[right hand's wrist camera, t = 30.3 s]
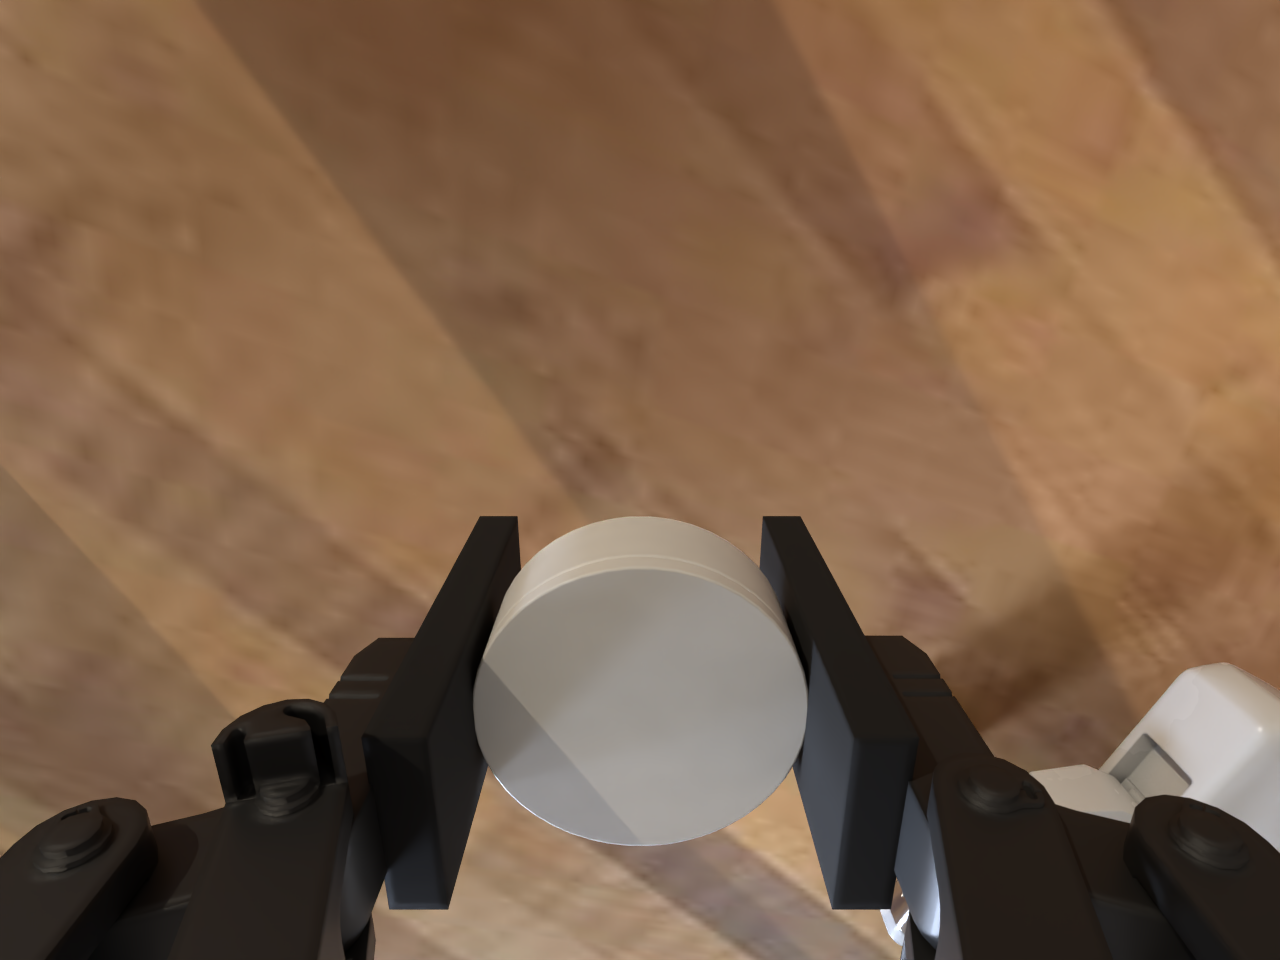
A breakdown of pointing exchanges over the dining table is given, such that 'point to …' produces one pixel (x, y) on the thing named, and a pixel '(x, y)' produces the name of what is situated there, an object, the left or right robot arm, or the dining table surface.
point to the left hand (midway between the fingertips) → (936, 851)
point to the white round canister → (640, 684)
